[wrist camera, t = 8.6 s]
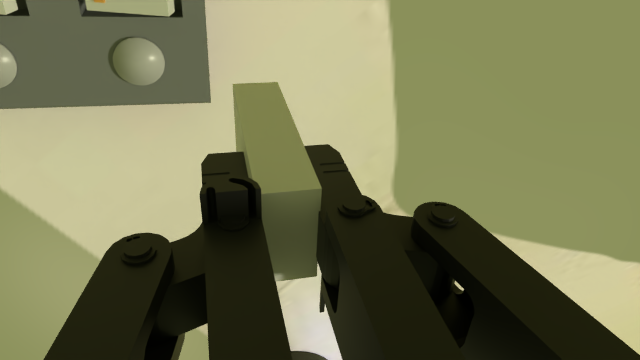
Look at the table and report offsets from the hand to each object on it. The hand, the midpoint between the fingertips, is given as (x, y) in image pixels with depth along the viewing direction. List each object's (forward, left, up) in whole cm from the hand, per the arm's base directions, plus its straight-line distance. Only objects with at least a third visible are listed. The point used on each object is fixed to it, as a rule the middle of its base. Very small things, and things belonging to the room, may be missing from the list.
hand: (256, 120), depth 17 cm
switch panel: (-3, +11, -26) cm, 28 cm away
